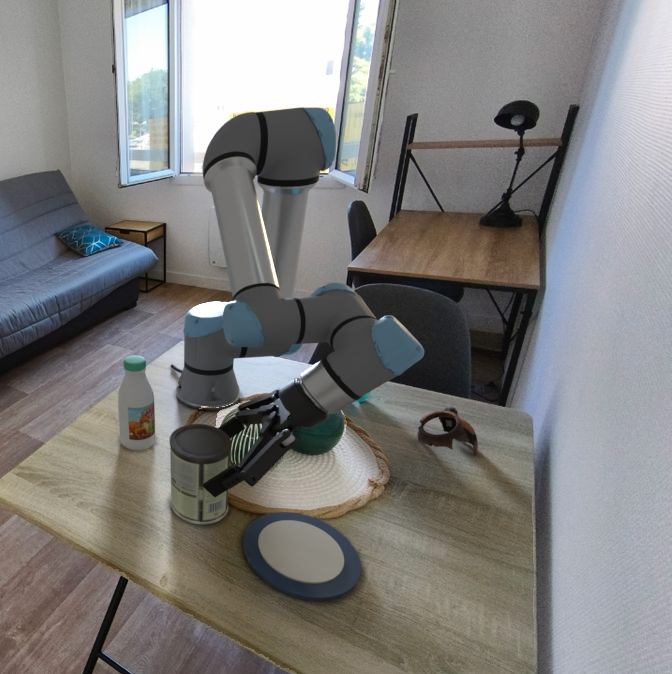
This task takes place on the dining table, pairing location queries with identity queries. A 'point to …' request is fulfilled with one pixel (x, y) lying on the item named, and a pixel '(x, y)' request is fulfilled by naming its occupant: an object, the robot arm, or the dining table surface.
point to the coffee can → (198, 472)
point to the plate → (301, 556)
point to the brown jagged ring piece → (448, 430)
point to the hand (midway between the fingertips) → (210, 464)
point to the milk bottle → (136, 406)
